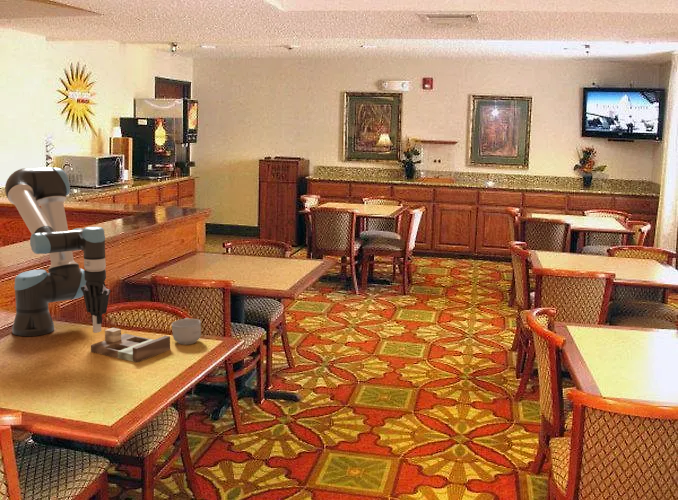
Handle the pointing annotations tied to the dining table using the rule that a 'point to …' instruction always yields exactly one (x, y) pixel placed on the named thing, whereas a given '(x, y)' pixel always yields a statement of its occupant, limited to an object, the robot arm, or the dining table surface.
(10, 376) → the dining table surface
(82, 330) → the dining table surface
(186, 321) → the teacup
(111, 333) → the block
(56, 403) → the dining table surface
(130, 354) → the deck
